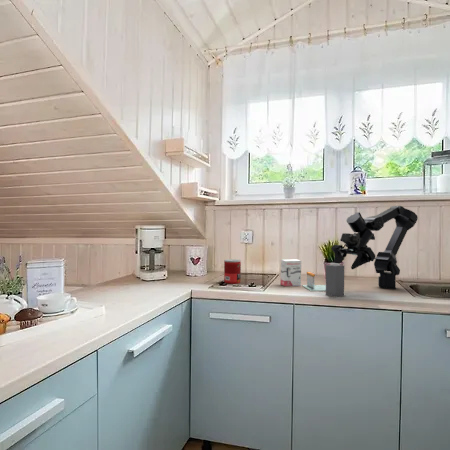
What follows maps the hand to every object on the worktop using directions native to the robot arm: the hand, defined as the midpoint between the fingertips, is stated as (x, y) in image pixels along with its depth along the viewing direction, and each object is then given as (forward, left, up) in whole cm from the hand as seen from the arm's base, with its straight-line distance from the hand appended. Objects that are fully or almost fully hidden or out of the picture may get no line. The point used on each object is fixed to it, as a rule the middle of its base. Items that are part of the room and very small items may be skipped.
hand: (342, 267), depth 144 cm
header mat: (+9, -10, -11) cm, 18 cm away
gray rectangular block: (+3, +3, -11) cm, 12 cm away
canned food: (+51, -12, -11) cm, 53 cm away
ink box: (+23, -14, -11) cm, 29 cm away
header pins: (+13, -9, -10) cm, 19 cm away
